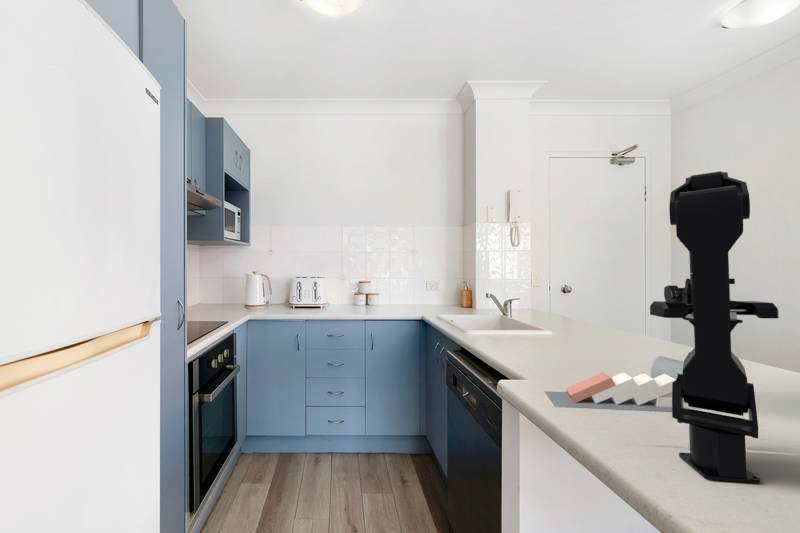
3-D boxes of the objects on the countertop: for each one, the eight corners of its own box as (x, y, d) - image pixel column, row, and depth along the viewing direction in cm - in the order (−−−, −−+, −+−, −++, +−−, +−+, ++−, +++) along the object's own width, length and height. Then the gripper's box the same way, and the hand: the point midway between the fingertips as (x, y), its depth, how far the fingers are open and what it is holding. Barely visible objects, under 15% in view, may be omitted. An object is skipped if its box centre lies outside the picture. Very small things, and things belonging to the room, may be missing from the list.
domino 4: (638, 405, 74) (681, 387, 73) (633, 397, 74) (676, 379, 73) (628, 398, 78) (668, 381, 77) (624, 390, 78) (664, 373, 77)
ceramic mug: (692, 400, 78) (691, 364, 78) (650, 390, 85) (649, 357, 85) (712, 392, 83) (711, 359, 83) (671, 383, 90) (670, 352, 90)
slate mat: (679, 414, 70) (678, 412, 70) (555, 408, 74) (555, 406, 74) (652, 397, 80) (652, 395, 80) (544, 392, 84) (544, 391, 84)
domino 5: (657, 406, 73) (707, 408, 72) (657, 397, 73) (706, 399, 72) (646, 399, 78) (693, 401, 76) (646, 390, 78) (692, 392, 76)
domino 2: (595, 403, 75) (637, 386, 74) (591, 395, 75) (632, 378, 74) (588, 396, 80) (627, 379, 78) (584, 389, 80) (623, 372, 78)
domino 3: (616, 404, 75) (658, 387, 73) (612, 396, 75) (654, 379, 73) (607, 397, 79) (647, 380, 78) (603, 390, 79) (643, 373, 78)
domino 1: (575, 402, 76) (615, 385, 75) (570, 395, 76) (611, 377, 75) (568, 396, 80) (607, 379, 79) (564, 388, 80) (603, 371, 79)
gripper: (733, 272, 75) (735, 347, 75) (635, 274, 78) (638, 345, 78) (779, 272, 64) (783, 359, 64) (664, 274, 67) (666, 357, 67)
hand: (712, 354), depth 68 cm, fingers closed
